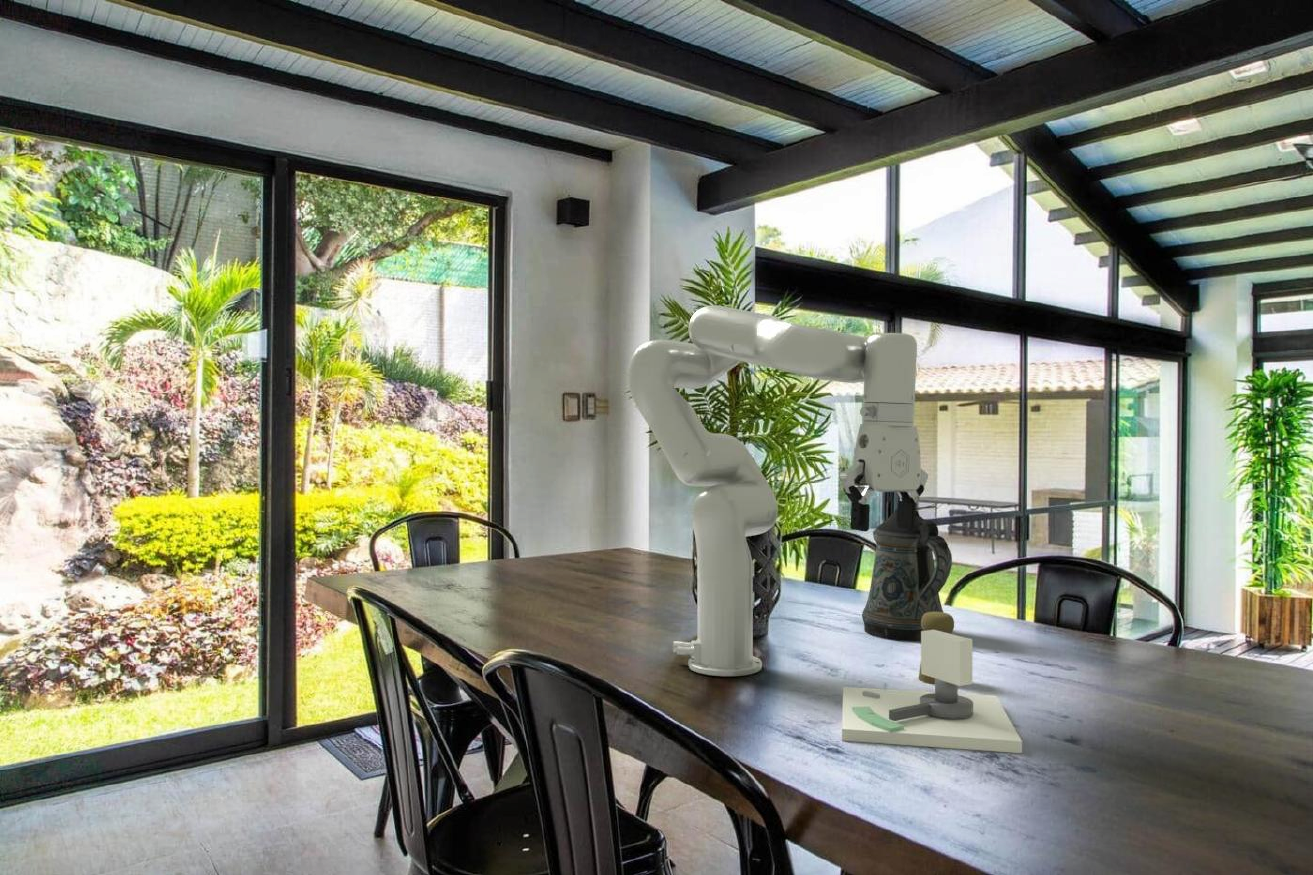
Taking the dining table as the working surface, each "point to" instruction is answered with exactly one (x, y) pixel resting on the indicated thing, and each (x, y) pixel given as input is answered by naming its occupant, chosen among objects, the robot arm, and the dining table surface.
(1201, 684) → the dining table surface
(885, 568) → the beer stein
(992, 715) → the dial board
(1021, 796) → the dining table surface
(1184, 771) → the dining table surface
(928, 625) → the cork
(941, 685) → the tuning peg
